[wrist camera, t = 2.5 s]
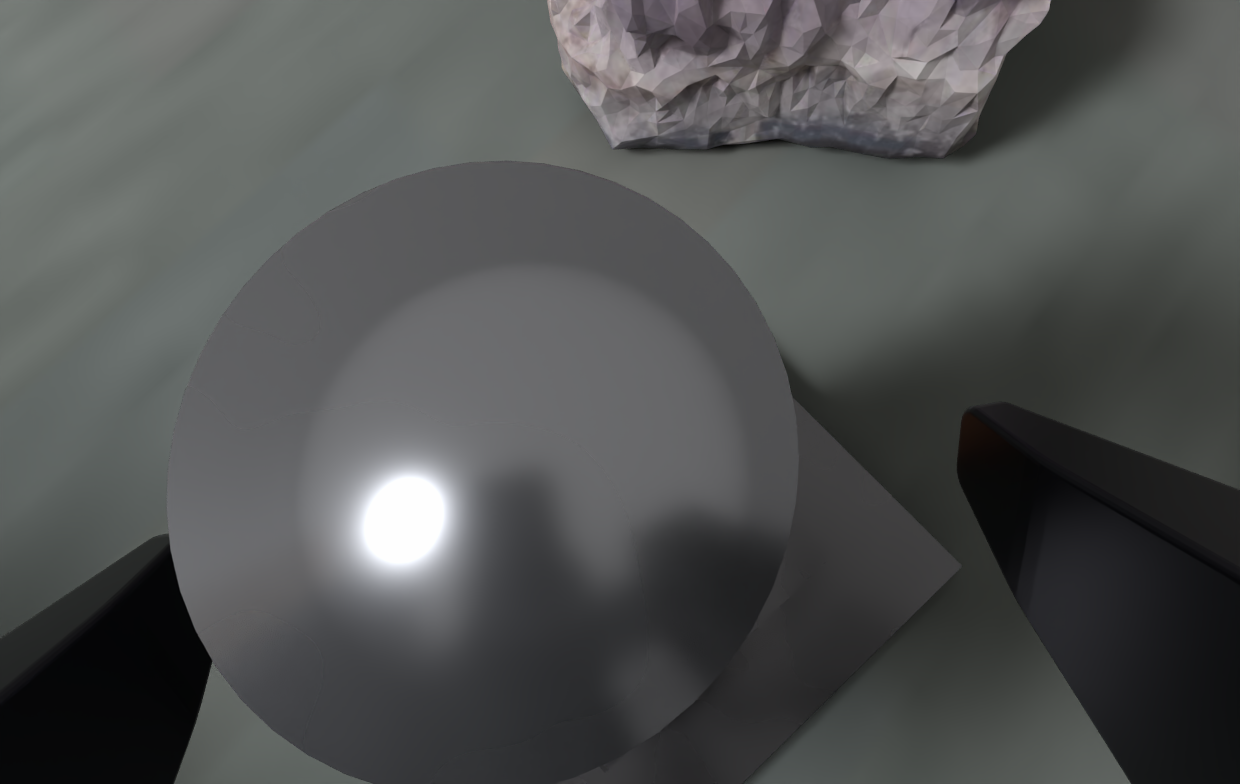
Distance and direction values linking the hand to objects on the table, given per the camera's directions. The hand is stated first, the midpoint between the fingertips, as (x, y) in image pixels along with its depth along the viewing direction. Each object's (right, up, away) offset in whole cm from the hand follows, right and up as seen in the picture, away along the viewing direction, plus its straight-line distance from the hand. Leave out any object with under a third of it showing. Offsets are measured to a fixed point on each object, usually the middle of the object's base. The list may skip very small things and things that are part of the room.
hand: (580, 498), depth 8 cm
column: (+1, -2, +8) cm, 8 cm away
